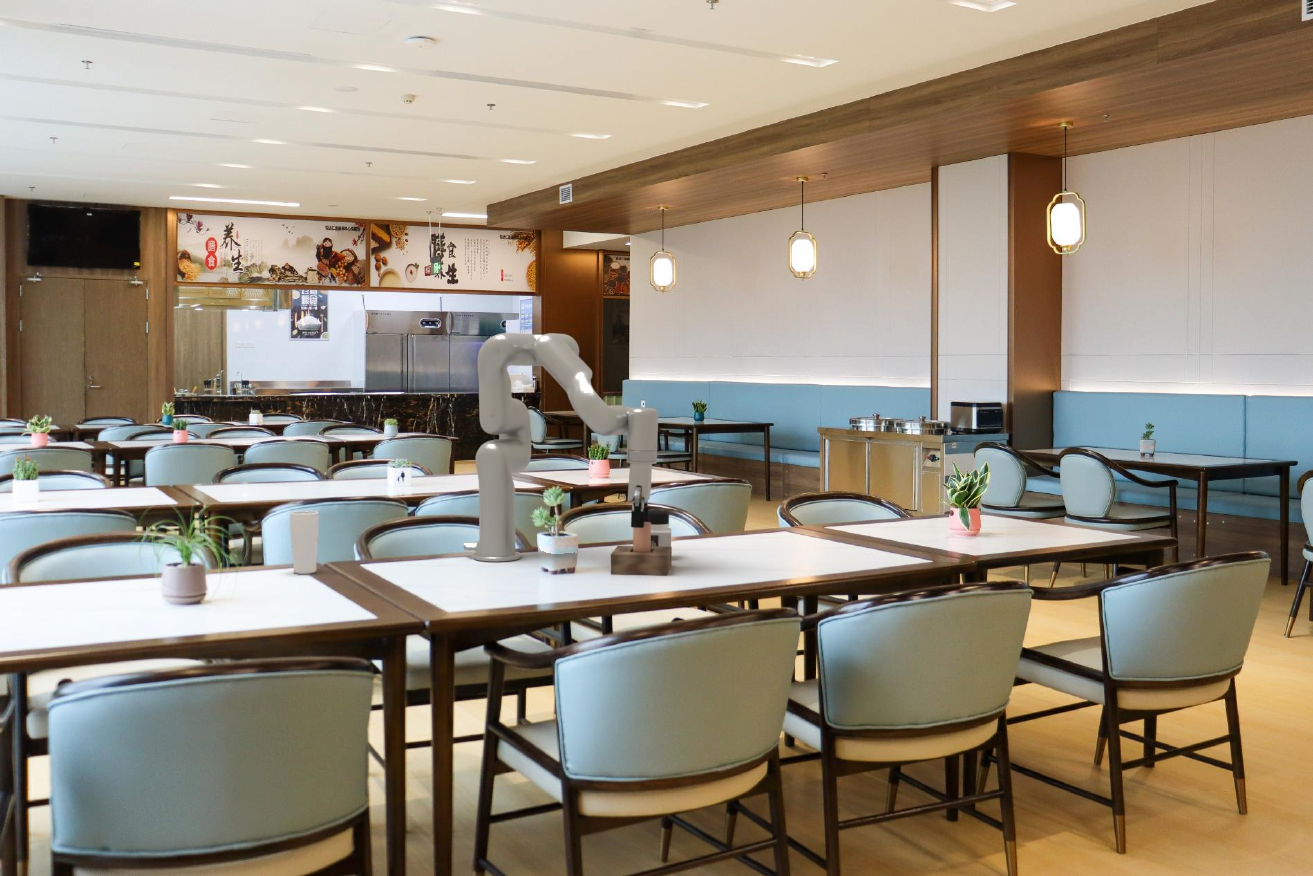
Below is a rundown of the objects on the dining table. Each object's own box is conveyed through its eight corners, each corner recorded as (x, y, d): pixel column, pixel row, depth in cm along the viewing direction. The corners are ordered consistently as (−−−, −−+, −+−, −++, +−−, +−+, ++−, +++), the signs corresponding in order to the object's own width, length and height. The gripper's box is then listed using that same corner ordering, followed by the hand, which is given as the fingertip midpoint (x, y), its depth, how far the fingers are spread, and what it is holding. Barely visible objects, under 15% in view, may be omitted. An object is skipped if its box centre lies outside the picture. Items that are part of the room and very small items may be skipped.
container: (670, 560, 307) (671, 511, 306) (641, 560, 307) (641, 511, 307) (671, 556, 315) (671, 508, 314) (642, 555, 315) (642, 508, 314)
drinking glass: (311, 575, 282) (310, 514, 281) (285, 574, 283) (284, 513, 282) (324, 571, 288) (323, 511, 288) (299, 569, 290) (298, 510, 289)
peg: (632, 571, 290) (632, 523, 290) (634, 568, 295) (634, 521, 294) (649, 571, 290) (649, 524, 289) (651, 568, 294) (651, 521, 294)
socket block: (610, 574, 286) (610, 554, 286) (617, 564, 300) (617, 545, 300) (667, 575, 285) (667, 555, 285) (671, 566, 299) (671, 546, 299)
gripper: (630, 453, 300) (628, 519, 301) (622, 459, 283) (620, 529, 284) (659, 454, 299) (657, 520, 300) (653, 460, 282) (651, 530, 283)
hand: (639, 524), depth 292 cm, fingers open, 9 cm apart
